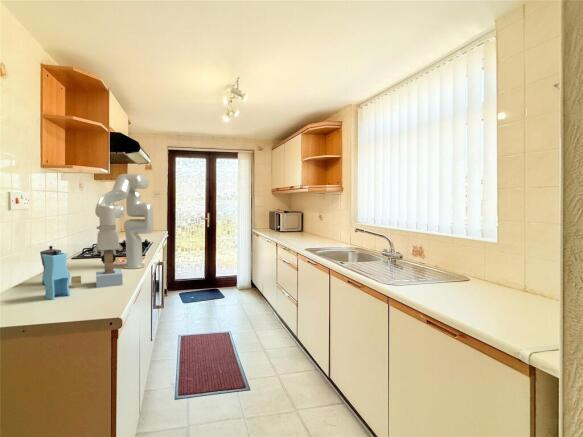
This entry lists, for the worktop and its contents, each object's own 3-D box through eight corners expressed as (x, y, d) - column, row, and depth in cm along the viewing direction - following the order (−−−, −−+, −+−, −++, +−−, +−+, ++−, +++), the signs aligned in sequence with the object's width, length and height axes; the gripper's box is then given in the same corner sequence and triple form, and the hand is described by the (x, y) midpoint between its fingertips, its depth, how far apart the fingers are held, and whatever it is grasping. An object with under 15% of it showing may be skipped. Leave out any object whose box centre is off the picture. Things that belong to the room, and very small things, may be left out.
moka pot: (57, 279, 190) (55, 243, 189) (69, 283, 182) (68, 246, 180) (37, 282, 183) (35, 245, 181) (48, 287, 174) (47, 248, 172)
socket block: (96, 282, 184) (96, 271, 184) (121, 279, 190) (120, 269, 190) (96, 287, 174) (96, 276, 174) (122, 284, 180) (122, 273, 180)
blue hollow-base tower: (61, 293, 164) (60, 252, 163) (70, 295, 161) (69, 253, 159) (43, 297, 157) (41, 254, 156) (52, 300, 154) (50, 256, 152)
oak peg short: (72, 286, 177) (71, 276, 177) (81, 285, 179) (80, 275, 179) (71, 287, 174) (71, 278, 173) (80, 286, 176) (80, 277, 175)
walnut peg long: (104, 272, 182) (104, 250, 182) (113, 271, 184) (112, 249, 184) (104, 274, 179) (104, 251, 178) (113, 273, 181) (112, 251, 180)
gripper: (89, 229, 173) (90, 265, 174) (125, 228, 181) (126, 262, 182) (89, 228, 179) (90, 262, 180) (124, 227, 188) (125, 260, 189)
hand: (108, 262), depth 181 cm, fingers closed on walnut peg long, 4 cm apart
